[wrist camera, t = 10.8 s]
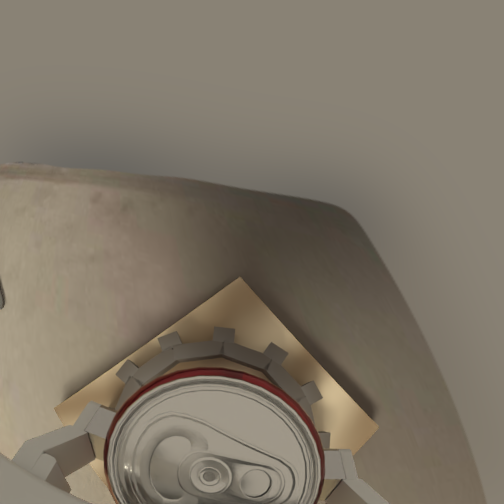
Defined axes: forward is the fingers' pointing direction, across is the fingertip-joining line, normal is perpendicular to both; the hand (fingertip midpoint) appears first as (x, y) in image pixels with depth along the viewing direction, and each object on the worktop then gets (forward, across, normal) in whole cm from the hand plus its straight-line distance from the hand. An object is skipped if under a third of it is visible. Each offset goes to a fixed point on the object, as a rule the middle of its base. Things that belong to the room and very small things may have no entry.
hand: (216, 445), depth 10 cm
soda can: (+6, 0, +7) cm, 9 cm away
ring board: (+7, 0, +8) cm, 10 cm away
